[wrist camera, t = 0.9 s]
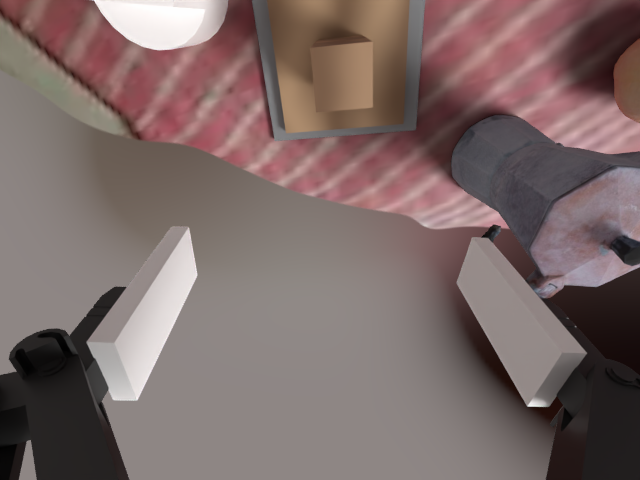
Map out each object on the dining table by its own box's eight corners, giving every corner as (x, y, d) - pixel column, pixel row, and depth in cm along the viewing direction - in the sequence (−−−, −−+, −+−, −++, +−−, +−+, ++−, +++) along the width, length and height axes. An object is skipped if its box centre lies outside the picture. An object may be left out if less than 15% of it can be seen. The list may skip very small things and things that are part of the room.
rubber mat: (426, -43, 28) (428, -44, 27) (414, 128, 35) (415, 130, 35) (249, -22, 29) (248, -23, 28) (275, 139, 36) (274, 141, 36)
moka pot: (579, 110, 34) (818, 199, 17) (480, 228, 42) (577, 367, 25) (502, 68, 32) (686, 122, 15) (415, 200, 40) (472, 330, 23)
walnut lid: (408, -27, 28) (444, -49, 19) (401, 121, 34) (426, 158, 25) (267, -10, 29) (235, -24, 19) (287, 130, 35) (270, 169, 26)
